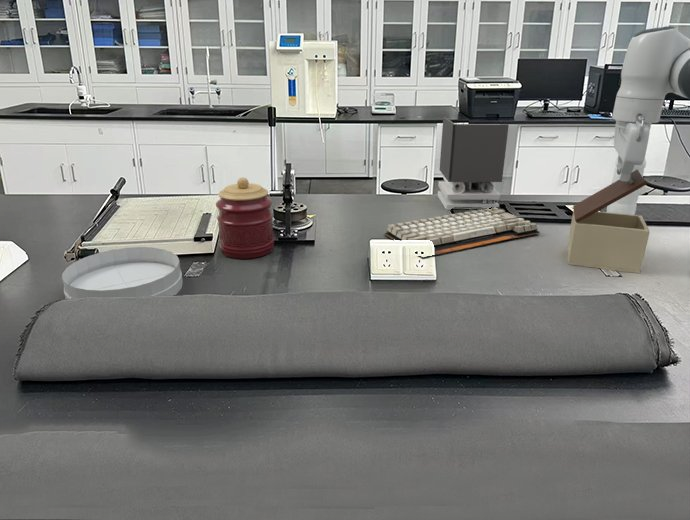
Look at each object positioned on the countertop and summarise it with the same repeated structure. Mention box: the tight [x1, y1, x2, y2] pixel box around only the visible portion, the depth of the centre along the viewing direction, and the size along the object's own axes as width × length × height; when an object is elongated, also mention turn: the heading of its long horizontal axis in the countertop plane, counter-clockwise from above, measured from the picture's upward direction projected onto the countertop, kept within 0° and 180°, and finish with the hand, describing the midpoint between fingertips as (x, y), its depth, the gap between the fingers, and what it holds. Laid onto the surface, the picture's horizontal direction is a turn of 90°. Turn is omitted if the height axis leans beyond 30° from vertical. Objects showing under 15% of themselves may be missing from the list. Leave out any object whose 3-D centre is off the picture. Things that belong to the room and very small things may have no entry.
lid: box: [572, 162, 648, 223], centre depth 118 cm, size 15×12×5 cm
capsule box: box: [566, 209, 651, 274], centre depth 121 cm, size 15×12×10 cm
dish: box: [61, 246, 184, 300], centre depth 107 cm, size 22×22×5 cm
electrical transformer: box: [437, 116, 509, 211], centre depth 163 cm, size 16×19×25 cm
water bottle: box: [606, 157, 647, 215], centre depth 140 cm, size 7×7×25 cm
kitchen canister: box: [215, 177, 275, 260], centre depth 125 cm, size 13×13×18 cm
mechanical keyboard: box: [383, 207, 541, 256], centre depth 138 cm, size 38×19×3 cm, turn 117°
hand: (622, 177), depth 116 cm, fingers closed on lid, 5 cm apart
